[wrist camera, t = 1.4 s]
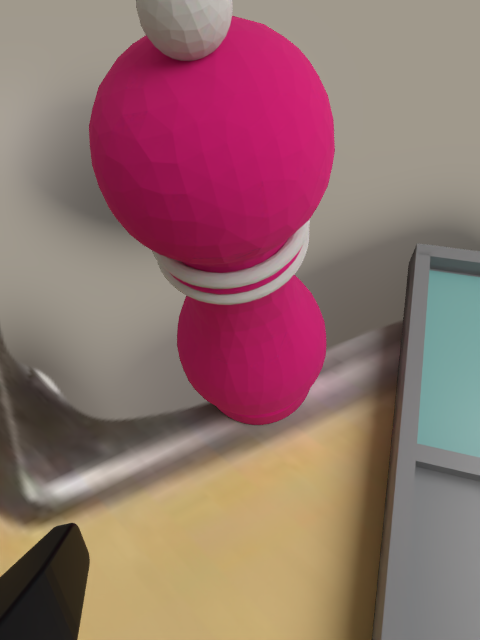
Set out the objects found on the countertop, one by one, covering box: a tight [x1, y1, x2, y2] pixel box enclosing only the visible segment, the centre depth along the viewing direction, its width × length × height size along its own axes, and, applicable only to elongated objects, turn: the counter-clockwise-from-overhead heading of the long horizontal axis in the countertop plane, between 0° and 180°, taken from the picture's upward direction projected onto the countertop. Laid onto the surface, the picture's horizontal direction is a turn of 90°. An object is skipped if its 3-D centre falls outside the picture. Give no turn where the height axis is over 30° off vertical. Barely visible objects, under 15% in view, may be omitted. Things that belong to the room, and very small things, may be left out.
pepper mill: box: [89, 0, 335, 425], centre depth 16 cm, size 7×7×20 cm
